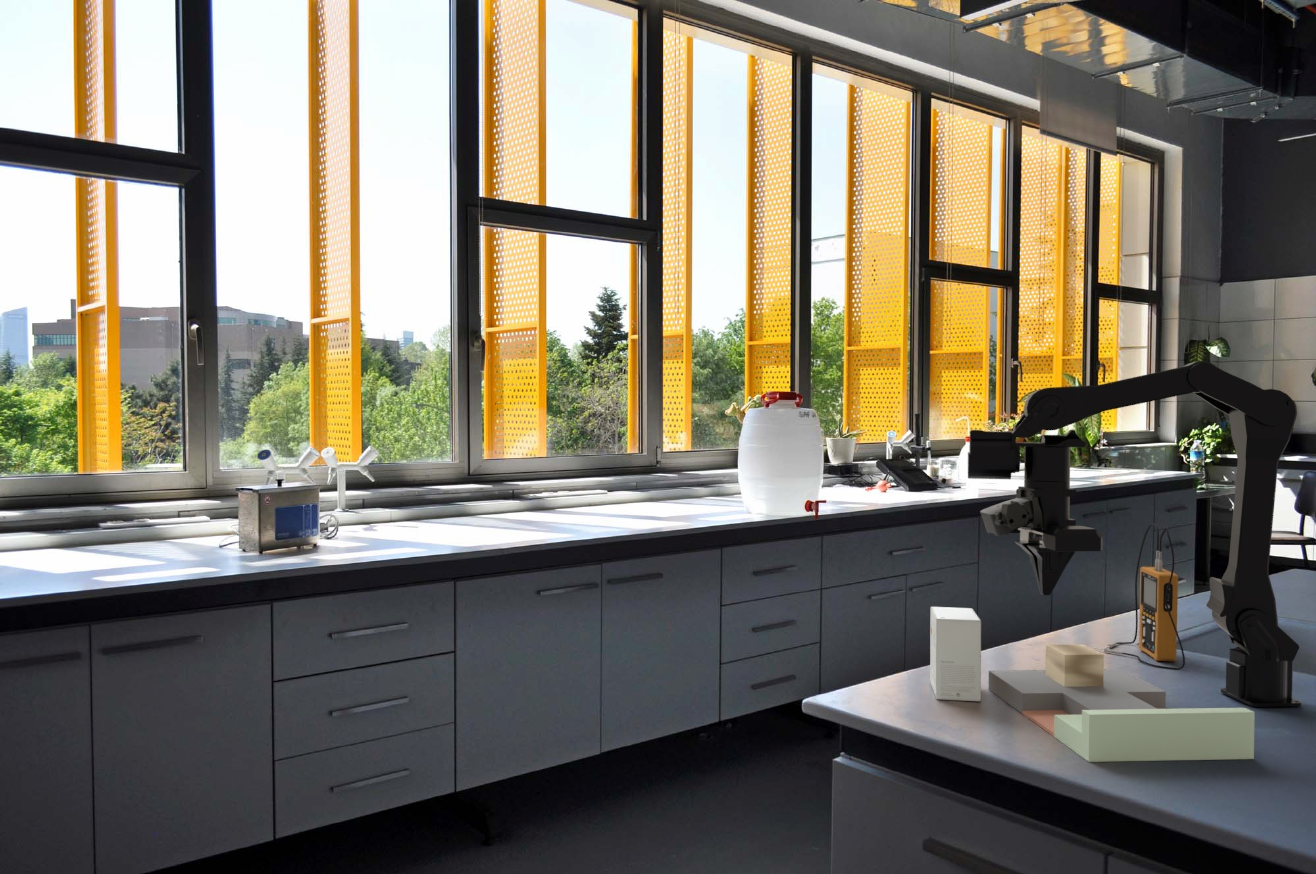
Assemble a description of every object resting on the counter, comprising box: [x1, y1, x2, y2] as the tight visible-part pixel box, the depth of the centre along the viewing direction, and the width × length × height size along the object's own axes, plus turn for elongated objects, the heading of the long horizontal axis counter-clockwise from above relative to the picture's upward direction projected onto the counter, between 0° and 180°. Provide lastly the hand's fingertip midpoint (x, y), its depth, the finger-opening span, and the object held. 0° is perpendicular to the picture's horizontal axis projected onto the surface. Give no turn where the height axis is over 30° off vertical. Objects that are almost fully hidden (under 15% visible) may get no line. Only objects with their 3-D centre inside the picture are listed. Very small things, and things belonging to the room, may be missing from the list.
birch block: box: [1045, 643, 1105, 687], centre depth 117 cm, size 5×5×4 cm
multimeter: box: [1091, 523, 1186, 671], centre depth 139 cm, size 15×10×20 cm
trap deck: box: [988, 668, 1256, 763], centre depth 110 cm, size 18×26×5 cm
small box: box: [929, 606, 982, 702], centre depth 121 cm, size 8×6×10 cm
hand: (1045, 594), depth 125 cm, fingers closed
